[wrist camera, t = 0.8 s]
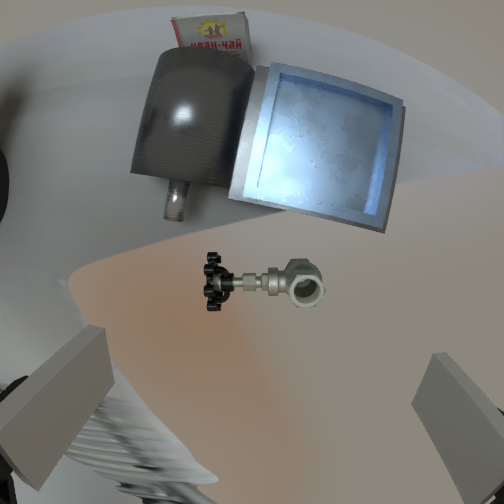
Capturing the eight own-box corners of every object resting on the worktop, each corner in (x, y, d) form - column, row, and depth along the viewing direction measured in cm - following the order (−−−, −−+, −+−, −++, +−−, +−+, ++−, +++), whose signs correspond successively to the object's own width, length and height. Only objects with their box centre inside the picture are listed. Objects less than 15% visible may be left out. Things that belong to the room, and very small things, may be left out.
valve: (317, 244, 32) (213, 246, 33) (329, 257, 26) (200, 259, 26) (315, 297, 34) (216, 299, 34) (325, 321, 27) (206, 323, 28)
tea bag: (196, 47, 27) (174, 5, 18) (250, 45, 27) (245, -1, 17) (193, 71, 28) (168, 32, 18) (249, 69, 28) (243, 26, 18)
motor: (148, 207, 32) (105, 215, 22) (177, 74, 28) (147, 38, 19) (361, 251, 32) (397, 275, 22) (387, 116, 28) (428, 94, 18)
